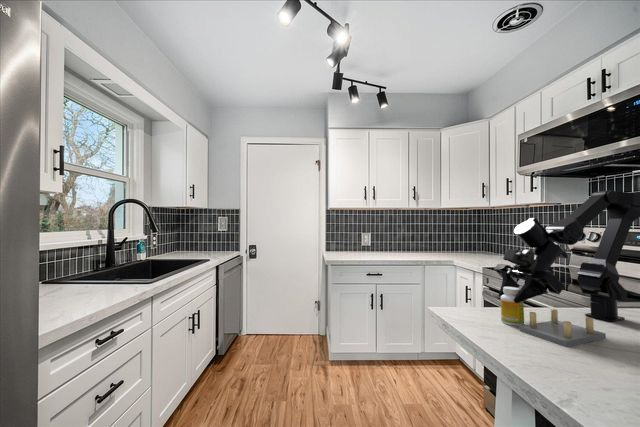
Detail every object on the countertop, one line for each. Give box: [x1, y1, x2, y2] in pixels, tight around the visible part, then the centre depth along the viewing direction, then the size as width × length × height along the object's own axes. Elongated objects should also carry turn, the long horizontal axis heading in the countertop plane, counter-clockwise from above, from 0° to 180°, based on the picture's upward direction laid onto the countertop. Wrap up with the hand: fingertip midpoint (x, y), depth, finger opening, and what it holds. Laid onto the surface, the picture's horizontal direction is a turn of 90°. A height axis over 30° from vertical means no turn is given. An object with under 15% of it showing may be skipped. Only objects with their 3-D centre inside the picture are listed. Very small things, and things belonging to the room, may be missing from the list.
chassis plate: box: [518, 308, 607, 348], centre depth 75 cm, size 14×11×5 cm
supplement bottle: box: [500, 287, 525, 327], centre depth 84 cm, size 5×5×10 cm
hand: (507, 299), depth 84 cm, fingers closed on supplement bottle, 5 cm apart
